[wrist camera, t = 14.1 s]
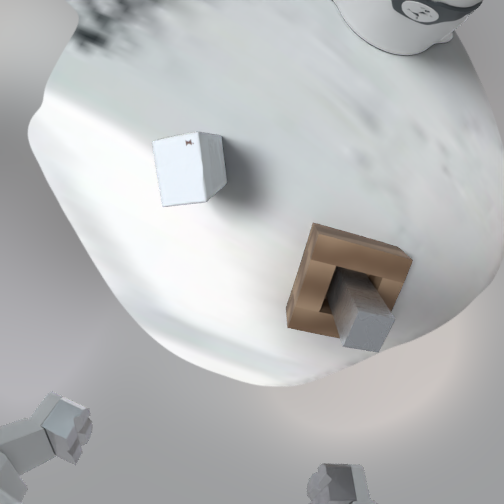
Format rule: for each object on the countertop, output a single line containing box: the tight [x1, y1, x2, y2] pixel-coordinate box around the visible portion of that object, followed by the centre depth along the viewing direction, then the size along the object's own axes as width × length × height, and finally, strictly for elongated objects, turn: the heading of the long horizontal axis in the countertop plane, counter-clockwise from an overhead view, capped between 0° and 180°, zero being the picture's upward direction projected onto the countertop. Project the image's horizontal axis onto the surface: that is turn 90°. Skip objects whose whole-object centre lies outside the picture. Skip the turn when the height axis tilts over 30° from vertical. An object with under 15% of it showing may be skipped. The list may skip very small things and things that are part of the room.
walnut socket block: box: [286, 223, 413, 338], centre depth 37 cm, size 12×12×5 cm
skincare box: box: [152, 131, 227, 207], centre depth 30 cm, size 6×4×12 cm
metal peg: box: [326, 266, 395, 352], centre depth 33 cm, size 4×4×12 cm
